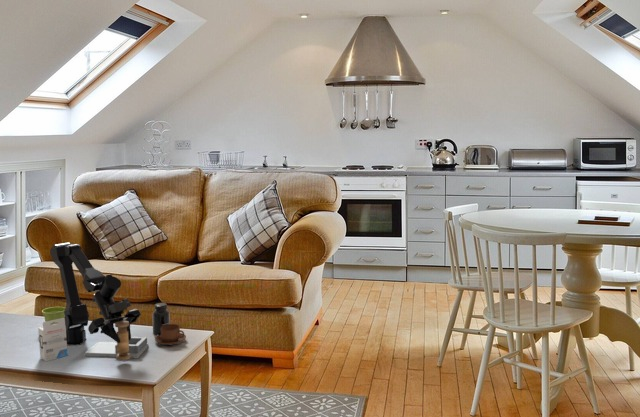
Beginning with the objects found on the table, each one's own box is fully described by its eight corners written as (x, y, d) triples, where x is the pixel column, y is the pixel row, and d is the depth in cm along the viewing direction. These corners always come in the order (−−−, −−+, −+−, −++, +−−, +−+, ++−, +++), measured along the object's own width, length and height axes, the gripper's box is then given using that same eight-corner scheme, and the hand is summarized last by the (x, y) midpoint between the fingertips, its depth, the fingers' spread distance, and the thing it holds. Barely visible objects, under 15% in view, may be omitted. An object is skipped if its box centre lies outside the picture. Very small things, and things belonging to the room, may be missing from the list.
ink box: (62, 352, 257) (60, 314, 255) (68, 355, 253) (65, 317, 251) (39, 358, 251) (37, 319, 249) (44, 361, 247) (42, 322, 245)
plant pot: (40, 329, 284) (39, 308, 283) (64, 325, 289) (63, 305, 288) (45, 335, 276) (44, 314, 275) (69, 331, 281) (68, 310, 280)
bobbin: (114, 359, 243) (112, 324, 241) (119, 355, 248) (118, 320, 246) (127, 360, 243) (126, 325, 241) (132, 355, 248) (131, 320, 246)
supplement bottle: (165, 336, 275) (164, 307, 273) (150, 335, 276) (149, 306, 275) (172, 330, 282) (171, 302, 280) (157, 329, 283) (156, 301, 281)
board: (85, 355, 253) (84, 345, 253) (98, 344, 265) (97, 334, 264) (137, 357, 251) (137, 347, 251) (148, 346, 263) (148, 336, 263)
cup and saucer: (188, 337, 274) (188, 322, 274) (183, 347, 263) (182, 331, 262) (158, 337, 274) (157, 322, 273) (151, 347, 262) (151, 332, 261)
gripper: (90, 297, 238) (109, 335, 232) (137, 287, 251) (155, 322, 246) (80, 315, 244) (98, 352, 238) (125, 304, 258) (143, 338, 252)
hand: (124, 340), depth 244 cm, fingers closed on bobbin, 4 cm apart
